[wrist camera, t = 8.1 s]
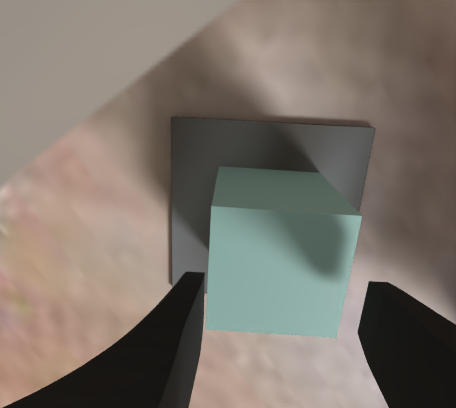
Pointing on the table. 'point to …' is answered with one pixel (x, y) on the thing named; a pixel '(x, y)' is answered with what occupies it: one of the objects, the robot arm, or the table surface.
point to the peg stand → (252, 158)
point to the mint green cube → (278, 252)
